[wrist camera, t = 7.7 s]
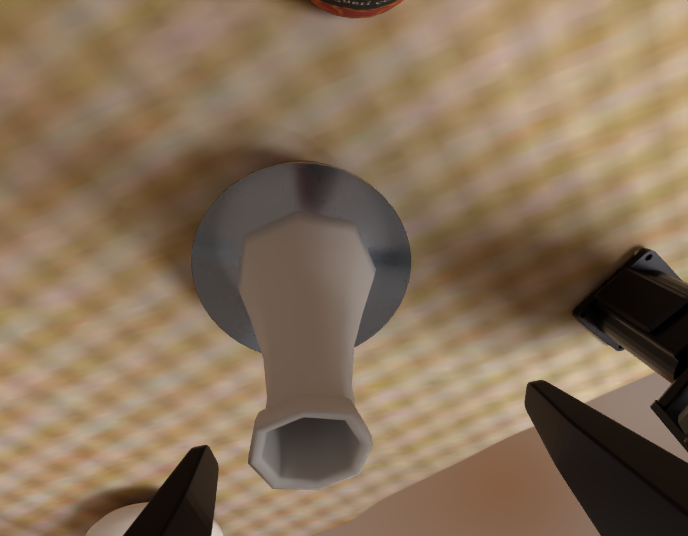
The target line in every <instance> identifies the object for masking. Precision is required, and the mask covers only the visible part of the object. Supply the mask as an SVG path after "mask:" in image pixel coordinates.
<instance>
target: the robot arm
mask: <svg viewBox="0 0 688 536" xmlns="http://www.w3.org/2000/svg"><path fill="white" fill-rule="evenodd" d="M573 316H574V317H575V318H576V319H578V320H579V321H580V322H581V323H583V324H584V325H585V326H586V327H588V328H589V329H590V330H591V331H593V332H594V333H595V334H596V335H598V336H599V337H600V338H601V339H603V340H604V341H605V342H607V343H608V344H609V345H610V346H612V347H613V348H614V349H615V350H617V351H622V350H624V349H626V350H627V351H628V352H630V353H631V354H633V355H634V356H635V357H637V358H638V359H639V360H641V361H642V362H643V363H645V364H646V365H647V366H649V367H650V368H651V369H653V370H654V371H655V372H657V373H658V374H659V375H661V376H662V377H663V378H665V379H666V380H667V381H669V382H670V383H671V385H670V387H669V388H668V389H667V390H666V391H665V393H664V394H663V395H662V396H661V397H660V398H659V399H658V400H655V401H654V402H653V404H652V405H651V406H650V407H651V409H652V410H653V411H654V412H655V414H656V415H657V416H658V417H659V418H660V420H661V421H662V422H663V423H664V424H665V426H666V427H667V428H668V429H669V430H670V432H671V433H672V434H673V435H674V436H675V438H676V439H677V440H678V441H679V442H680V443H681V445H682V446H683V447H684V448H685V449H686V451H687V452H688V283H686V282H684V281H682V280H681V279H680V278H679V277H678V276H677V275H676V274H675V273H674V271H673V270H672V269H671V268H670V267H669V266H668V265H667V264H666V263H665V262H664V261H663V260H662V258H661V257H660V256H659V255H658V254H657V253H656V252H655V251H653V250H650V249H643V250H641V251H640V252H639V253H638V254H636V255H635V256H634V257H633V258H632V259H631V260H630V261H629V262H627V263H626V264H625V265H624V266H623V267H622V268H621V269H620V270H618V271H617V272H616V273H615V274H614V275H613V276H612V277H611V278H610V279H608V280H607V281H606V282H605V283H604V284H603V285H602V286H601V287H599V288H598V289H597V290H596V291H595V292H594V293H593V294H592V295H590V296H589V297H588V298H587V299H586V300H585V301H584V302H583V303H581V304H580V305H579V306H578V307H577V308H576V309H575V310H574V312H573ZM525 408H526V411H527V413H528V415H529V416H530V418H531V420H532V422H533V424H534V426H535V428H536V430H537V432H538V433H539V435H540V437H541V439H542V441H543V443H544V445H545V447H546V448H547V451H548V452H549V454H550V456H551V458H552V460H553V462H554V463H555V465H556V467H557V469H558V470H559V472H560V473H561V475H562V477H563V478H564V480H565V481H566V483H567V484H568V486H569V487H570V489H571V490H572V492H573V493H574V495H575V497H576V498H577V500H578V501H579V503H580V504H581V506H582V507H583V509H584V510H585V512H586V514H587V515H588V517H589V518H590V519H591V521H592V523H593V524H594V526H595V527H596V529H597V530H598V532H599V533H600V535H601V536H688V463H687V462H685V461H683V460H682V459H680V458H678V457H676V456H675V455H673V454H671V453H670V452H668V451H666V450H664V449H663V448H661V447H659V446H657V445H656V444H654V443H652V442H650V441H649V440H647V439H645V438H643V437H642V436H640V435H638V434H636V433H635V432H633V431H631V430H630V429H628V428H626V427H624V426H622V425H621V424H619V423H617V422H615V421H614V420H612V419H611V418H609V417H607V416H605V415H603V414H602V413H600V412H598V411H597V410H595V409H593V408H591V407H590V406H588V405H586V404H584V403H583V402H581V401H579V400H578V399H576V398H574V397H572V396H571V395H569V394H567V393H565V392H564V391H562V390H560V389H558V388H557V387H555V386H553V385H551V384H550V383H548V382H546V381H544V380H538V381H533V382H529V383H528V384H527V388H526V395H525ZM218 471H219V468H218V463H217V460H216V459H215V457H214V455H213V453H212V451H211V449H210V447H209V446H207V445H202V446H197V447H193V448H192V449H191V450H190V451H189V452H188V453H187V454H186V456H185V457H184V458H183V459H182V461H181V462H180V463H179V464H178V466H177V467H176V468H175V470H174V471H173V472H172V473H171V475H170V476H169V477H168V478H167V480H166V481H165V482H164V484H163V485H162V486H161V487H160V489H159V490H158V491H157V492H156V494H155V495H154V496H153V498H152V499H151V500H150V501H149V503H148V504H147V505H146V507H145V508H144V509H143V510H142V512H141V513H140V514H139V515H138V517H137V518H136V519H135V521H134V522H133V523H132V524H131V526H130V527H129V528H128V529H127V531H126V532H125V533H124V535H123V536H211V535H212V527H213V519H214V509H215V500H216V491H217V481H218Z"/></svg>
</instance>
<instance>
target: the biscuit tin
mask: <svg viewBox="0 0 688 536" xmlns="http://www.w3.org/2000/svg"><path fill="white" fill-rule="evenodd" d="M297 210H298V211H303V212H308V213H313V214H317V215H322V216H327V217H332V218H337V219H342V220H347V221H352V222H356V224H357V227H358V229H359V231H360V234H361V236H362V238H363V240H364V243H365V245H366V247H367V250H368V252H369V254H370V257H371V259H372V261H373V264H374V266H375V268H376V271H375V275H374V278H373V282H372V285H371V288H370V291H369V294H368V298H367V301H366V304H365V307H364V310H363V314H362V318H361V321H360V325H359V329H358V333H357V337H356V340H355V344H354V347H356V346H358V345H360V344H361V343H363V342H364V341H366V340H368V339H369V338H370V337H372V336H373V335H374V334H376V333H377V332H378V331H379V330H380V329H381V328H382V327H383V326H384V325H385V324H386V323H387V322H388V321H389V319H390V318H391V317H392V316H393V315H394V313H395V311H396V310H397V308H398V307H399V305H400V303H401V301H402V299H403V297H404V294H405V292H406V289H407V285H408V282H409V276H410V270H411V254H410V246H409V242H408V238H407V234H406V231H405V229H404V227H403V224H402V222H401V220H400V218H399V217H398V215H397V213H396V212H395V210H394V209H393V207H392V206H391V205H390V204H389V203H388V201H387V200H386V199H385V198H384V197H383V196H382V195H381V194H380V193H379V192H378V191H377V190H376V189H375V188H374V187H372V186H371V185H370V184H368V183H367V182H365V181H364V180H362V179H361V178H359V177H358V176H356V175H354V174H351V173H349V172H347V171H345V170H342V169H339V168H336V167H333V166H330V165H327V164H323V163H317V162H308V161H295V162H285V163H281V164H277V165H273V166H269V167H265V168H263V169H260V170H258V171H255V172H252V173H250V174H249V175H247V176H245V177H243V178H241V179H240V180H238V181H237V182H235V183H234V184H233V185H231V186H230V187H229V188H227V189H226V190H225V191H224V192H223V193H222V194H221V195H220V196H219V197H218V198H217V199H216V200H215V201H214V203H213V204H212V205H211V206H210V208H209V209H208V211H207V212H206V214H205V215H204V217H203V219H202V221H201V223H200V225H199V227H198V229H197V232H196V235H195V239H194V242H193V248H192V255H191V263H192V275H193V281H194V285H195V288H196V291H197V294H198V296H199V298H200V300H201V302H202V305H203V307H204V308H205V310H206V311H207V313H208V314H209V315H210V317H211V318H212V319H213V320H214V322H215V323H216V324H217V325H218V326H219V327H220V328H221V329H222V330H223V331H224V332H226V333H227V334H228V335H229V336H230V337H232V338H233V339H235V340H236V341H238V342H239V343H241V344H243V345H245V346H247V347H249V348H250V349H253V350H255V351H258V352H260V353H261V350H260V347H259V344H258V341H257V338H256V335H255V331H254V328H253V325H252V322H251V320H250V317H249V315H248V312H247V310H246V307H245V305H244V302H243V300H242V297H241V295H240V292H239V289H238V279H239V271H240V263H241V254H242V246H243V238H244V235H245V234H247V233H249V232H252V231H254V230H256V229H258V228H260V227H263V226H265V225H267V224H269V223H271V222H273V221H276V220H278V219H280V218H282V217H284V216H287V215H289V214H291V213H293V212H295V211H297Z"/></svg>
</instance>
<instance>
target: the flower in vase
mask: <svg viewBox="0 0 688 536" xmlns="http://www.w3.org/2000/svg"><path fill="white" fill-rule="evenodd" d="M148 503H149V502H145V503H138V504H132V505H128V506H124V507H121V508H118V509H116V510H114V511H112V512H110V513H108V514H107V515H105V516H104V517H103V518H102V519H100V520H99V521H98V522H97V523H95V524H94V525H93V526H92V527H91V528H90V529H89V530H88V532H87V534H86V536H123V535H124V533H125V532H126V531H127V529H128V528H129V527H130V526H131V524H132V523H133V522H134V521H135V519H136V518H137V517H138V515H139V514H140V513H141V512H142V510H143V509H144V508H145V507H146V505H147V504H148ZM211 536H223V533H222V530H221V528H220V526H219V524H218V523H217V521H216V520H215V519H213V527H212V535H211Z"/></svg>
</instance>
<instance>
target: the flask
mask: <svg viewBox="0 0 688 536" xmlns="http://www.w3.org/2000/svg"><path fill="white" fill-rule="evenodd" d="M375 271H376V268H375V266H374V264H373V261H372V259H371V257H370V254H369V252H368V250H367V247H366V245H365V243H364V240H363V238H362V236H361V234H360V231H359V229H358V227H357V224H356V222H352V221H347V220H342V219H337V218H332V217H327V216H322V215H317V214H313V213H308V212H303V211H298V210H297V211H295V212H293V213H291V214H289V215H287V216H284V217H282V218H280V219H278V220H276V221H273V222H271V223H269V224H267V225H265V226H263V227H260V228H258V229H256V230H254V231H252V232H249V233H247V234H245V235H244V238H243V246H242V254H241V263H240V271H239V279H238V289H239V292H240V295H241V297H242V300H243V302H244V305H245V307H246V310H247V312H248V315H249V317H250V320H251V322H252V325H253V328H254V331H255V335H256V338H257V341H258V344H259V347H260V350H261V353H262V356H263V359H264V369H265V380H266V391H267V403H266V409H265V410H262V411H260V412H259V413H258V415H257V417H256V419H255V423H254V429H253V434H252V440H251V445H250V451H249V458H248V464H249V465H250V466H251V467H252V468H253V469H254V470H255V471H256V472H257V473H258V474H259V475H260V476H261V477H262V478H263V479H264V480H265V481H266V482H267V483H268V484H269V486H270V487H271V488H272V489H305V490H319V489H322V488H325V487H327V486H330V485H333V484H335V483H338V482H341V481H343V480H346V479H349V478H351V477H354V476H357V475H359V474H360V473H361V471H362V468H363V466H364V463H365V461H366V458H367V456H368V454H369V451H370V449H371V446H372V444H373V443H372V436H371V434H370V432H369V429H368V428H367V426H366V424H365V423H364V421H363V419H362V418H361V416H360V414H359V413H358V411H357V409H356V408H355V402H354V396H353V389H352V373H353V354H354V344H355V340H356V337H357V333H358V329H359V325H360V321H361V318H362V314H363V310H364V307H365V304H366V301H367V298H368V294H369V291H370V288H371V285H372V282H373V278H374V275H375Z"/></svg>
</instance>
